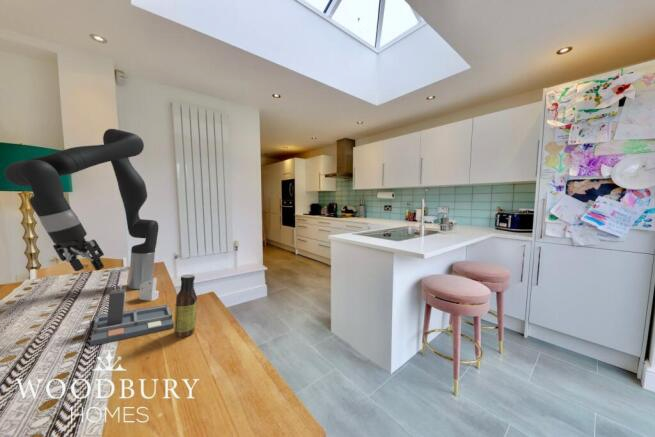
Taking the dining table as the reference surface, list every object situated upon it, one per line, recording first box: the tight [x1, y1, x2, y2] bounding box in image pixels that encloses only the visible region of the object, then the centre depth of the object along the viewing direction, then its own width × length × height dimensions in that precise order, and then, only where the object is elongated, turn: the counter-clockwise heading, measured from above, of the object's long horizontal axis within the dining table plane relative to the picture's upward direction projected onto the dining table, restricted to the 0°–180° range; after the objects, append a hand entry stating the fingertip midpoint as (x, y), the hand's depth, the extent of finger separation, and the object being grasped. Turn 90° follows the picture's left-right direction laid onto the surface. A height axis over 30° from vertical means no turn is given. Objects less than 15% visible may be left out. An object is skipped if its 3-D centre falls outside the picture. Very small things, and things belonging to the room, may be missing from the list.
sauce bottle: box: [173, 274, 198, 338], centre depth 79 cm, size 6×6×20 cm
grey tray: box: [89, 304, 175, 347], centre depth 81 cm, size 18×21×3 cm
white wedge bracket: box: [138, 276, 160, 302], centre depth 102 cm, size 4×10×9 cm, turn 85°
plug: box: [107, 285, 126, 326], centre depth 78 cm, size 4×4×13 cm
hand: (90, 269), depth 78 cm, fingers open, 8 cm apart
